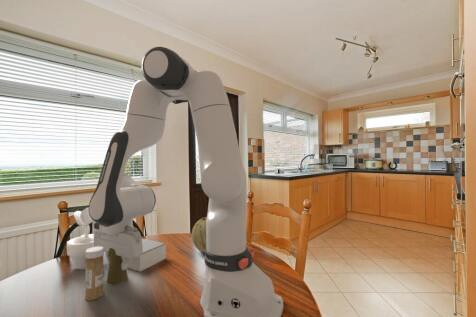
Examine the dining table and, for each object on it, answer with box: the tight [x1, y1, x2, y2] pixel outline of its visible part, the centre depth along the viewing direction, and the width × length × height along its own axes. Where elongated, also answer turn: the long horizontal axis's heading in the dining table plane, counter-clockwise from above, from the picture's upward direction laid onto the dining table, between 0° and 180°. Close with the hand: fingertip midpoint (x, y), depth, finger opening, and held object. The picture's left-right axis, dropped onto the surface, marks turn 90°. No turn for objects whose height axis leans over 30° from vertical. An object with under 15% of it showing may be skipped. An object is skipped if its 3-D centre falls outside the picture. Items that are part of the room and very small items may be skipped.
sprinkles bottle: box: [84, 246, 105, 301], centre depth 64 cm, size 5×5×13 cm
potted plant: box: [66, 206, 95, 271], centre depth 83 cm, size 13×12×25 cm
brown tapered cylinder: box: [106, 248, 129, 286], centre depth 73 cm, size 6×6×11 cm
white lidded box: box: [127, 237, 167, 272], centre depth 87 cm, size 14×12×6 cm
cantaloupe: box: [191, 216, 207, 253], centre depth 96 cm, size 15×15×15 cm
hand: (117, 267), depth 73 cm, fingers open, 5 cm apart
